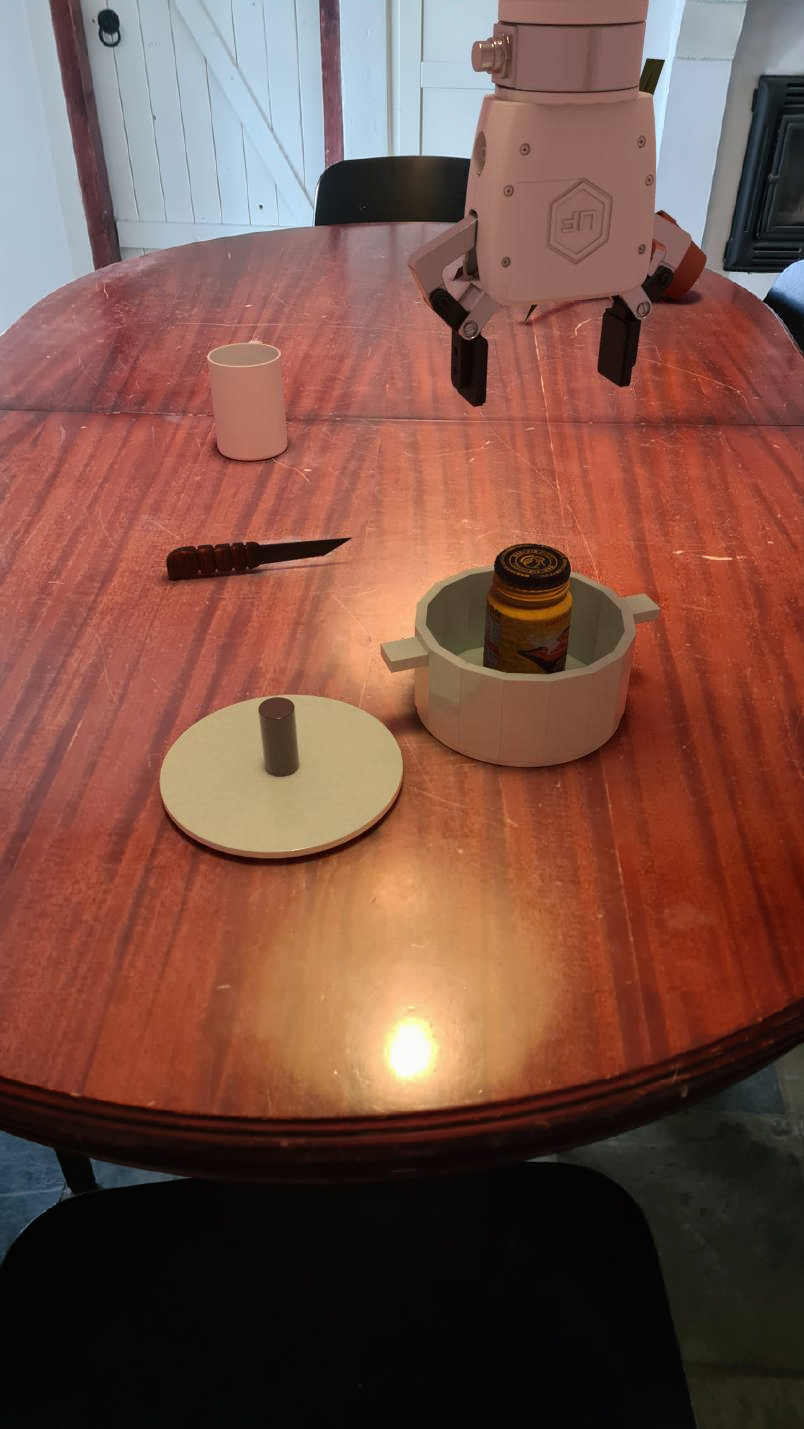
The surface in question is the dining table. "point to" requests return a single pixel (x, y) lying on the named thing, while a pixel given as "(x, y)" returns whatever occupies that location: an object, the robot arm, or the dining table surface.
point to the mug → (248, 400)
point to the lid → (281, 776)
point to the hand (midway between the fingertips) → (543, 389)
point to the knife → (243, 555)
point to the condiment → (528, 611)
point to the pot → (520, 674)
